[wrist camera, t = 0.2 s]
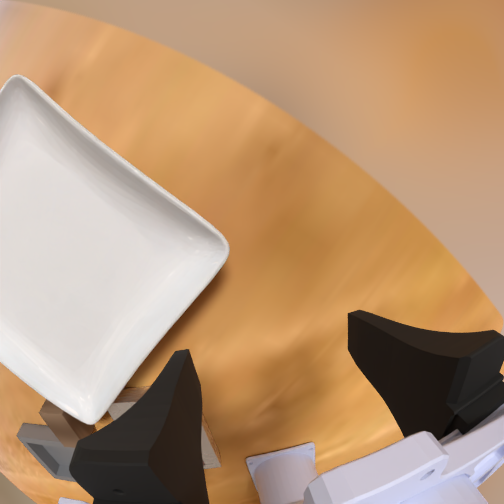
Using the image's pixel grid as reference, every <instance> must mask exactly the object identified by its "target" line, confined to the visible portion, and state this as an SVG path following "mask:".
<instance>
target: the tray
mask: <svg viewBox="0 0 504 504" xmlns="http://www.w3.org/2000/svg"><path fill="white" fill-rule="evenodd" d="M17 437H18V438H19V440H20V441H21V442H22V443H23V444H24V446H25V447H26V448H27V449H28V450H29V451H30V453H31V454H32V455H33V456H34V457H35V458H36V459H37V460H38V461H39V462H40V464H41V465H42V466H43V467H44V468H45V469H46V470H47V471H48V472H49V473H50V474H51V475H52V476H53V477H54V478H56V479H61V480H67V481H73V482H76V481H75V479H74V478H73V477H72V476H71V474H70V471H69V465H70V462H71V459H72V456H73V453H74V450H75V448H72V447H64V446H63V444H62V443H61V442H60V441H59V439H58V438H57V437H56V436H55V434H54V433H53V432H52V430H51V429H50V428H49V426H46V425H37V424H28V423H23V424H22V426H21V428H20V430H19V432H18V434H17Z"/></svg>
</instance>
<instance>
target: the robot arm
mask: <svg viewBox="0 0 504 504" xmlns="http://www.w3.org/2000/svg"><path fill="white" fill-rule="evenodd" d="M348 351H349V352H350V354H351V356H352V358H353V360H354V361H355V363H356V365H357V366H358V368H359V369H360V370H361V371H362V373H363V374H364V375H365V377H366V378H367V379H368V380H369V382H370V383H371V384H372V385H373V387H374V388H375V389H376V390H377V392H378V393H379V394H380V395H381V397H382V398H383V400H384V401H385V403H386V404H387V406H388V408H389V409H390V411H391V413H392V414H393V416H394V418H395V420H396V422H397V424H398V426H399V427H400V429H401V431H402V433H403V436H404V439H402V440H400V441H397V442H395V443H393V444H391V445H389V446H387V447H385V448H382V449H380V450H378V451H376V452H373V453H371V454H369V455H366V456H364V457H361V458H359V459H356V460H353V461H351V462H348V463H345V464H343V465H340V466H337V467H335V468H333V469H331V470H329V471H326V472H324V473H322V474H320V475H319V476H318V473H317V471H316V468H315V445H314V443H313V442H310V443H307V444H303V445H299V446H296V447H292V448H288V449H284V450H280V451H276V452H271V453H267V454H262V455H257V456H252V457H248V458H246V463H247V466H248V469H249V471H250V474H251V477H252V479H253V482H254V485H255V487H256V490H257V491H258V494H259V499H260V503H261V504H489V503H488V502H487V501H486V500H485V498H484V497H483V496H482V495H481V493H480V492H479V491H478V489H477V487H478V486H479V485H480V484H482V483H483V482H484V481H485V480H486V479H487V478H488V477H490V476H491V475H492V474H493V473H494V472H495V471H496V470H497V469H498V468H499V467H500V466H501V465H502V464H503V463H504V382H503V381H502V380H503V379H504V376H503V375H502V374H501V373H500V369H501V366H502V364H503V361H504V336H503V335H501V334H500V333H498V332H497V331H495V330H489V331H482V332H471V333H450V332H438V331H431V330H426V329H420V328H416V327H412V326H408V325H405V324H401V323H398V322H395V321H392V320H389V319H386V318H383V317H380V316H377V315H375V314H372V313H369V312H366V311H362V310H357V311H354V312H351V313H348ZM201 433H202V394H201V385H200V382H199V379H198V376H197V373H196V370H195V367H194V364H193V361H192V358H191V355H190V351H189V349H186V350H180V351H175V352H174V354H173V355H172V357H171V358H170V360H169V361H168V363H167V364H166V366H165V367H164V369H163V370H162V372H161V373H160V375H159V376H158V377H157V379H156V380H155V381H154V383H153V384H152V385H151V387H150V388H149V389H148V390H147V392H146V393H145V394H144V395H143V396H142V397H141V398H140V399H139V400H138V401H137V402H136V403H135V404H134V405H133V406H132V407H131V408H130V409H128V410H127V411H126V412H125V413H123V414H122V415H121V416H120V417H118V418H117V419H116V420H114V421H113V422H111V423H110V424H108V425H107V426H105V427H104V428H102V429H100V430H99V431H97V432H95V433H93V434H91V435H89V436H87V437H85V438H83V439H80V440H78V442H77V444H76V447H75V450H74V453H73V456H72V459H71V462H70V465H69V471H70V474H71V476H72V477H73V478H74V479H75V481H76V482H77V483H78V484H79V485H80V486H81V487H82V488H83V489H85V490H86V491H87V492H88V493H89V494H90V495H91V496H92V497H93V498H94V501H93V504H209V499H208V493H207V488H206V481H205V475H204V467H203V459H202V449H201ZM58 504H89V503H87V502H84V501H79V500H74V499H69V498H64V497H60V499H59V502H58Z"/></svg>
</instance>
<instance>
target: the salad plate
mask: <svg viewBox="0 0 504 504" xmlns="http://www.w3.org/2000/svg"><path fill="white" fill-rule="evenodd" d="M229 249H230V248H229V244H228V242H227V240H226V238H225V237H224V236H223V235H222V234H221V233H220V232H219V231H218V230H217V229H216V228H215V227H214V226H213V225H212V224H210V223H209V222H208V221H206V220H205V219H204V218H202V217H201V216H200V215H199V214H198V213H196V212H195V211H194V210H192V209H191V208H190V207H188V206H187V205H185V204H184V203H183V202H181V201H180V200H178V199H177V198H176V197H174V196H173V195H172V194H170V193H169V192H168V191H166V190H165V189H164V188H162V187H161V186H160V185H158V184H157V183H156V182H154V181H153V180H152V179H150V178H149V177H147V176H146V175H145V174H143V173H142V172H141V171H140V170H138V169H137V168H136V167H134V166H133V165H132V164H130V163H129V162H128V161H126V160H125V159H124V158H122V157H121V156H120V155H118V154H117V153H116V152H115V151H113V150H112V149H111V148H109V147H108V146H107V145H105V144H104V143H103V142H102V141H100V140H99V139H98V138H97V137H95V136H94V135H93V134H92V133H91V132H89V131H88V130H87V129H86V128H84V127H83V126H82V125H81V124H80V123H78V122H77V121H76V120H75V119H74V118H72V117H71V116H70V115H69V114H68V113H67V112H66V111H65V110H63V109H62V108H61V107H60V106H59V105H58V104H57V103H55V102H54V101H53V100H52V99H51V98H50V97H49V96H48V95H47V94H46V93H45V92H44V91H42V90H41V89H40V88H39V87H38V86H37V85H36V84H35V83H33V82H32V81H31V80H29V79H28V78H26V77H24V76H22V75H18V74H17V75H13V76H12V77H10V78H9V79H8V80H7V82H6V83H5V84H4V86H3V87H2V89H1V90H0V362H1V363H2V364H3V365H5V366H6V367H7V368H8V369H9V370H10V371H11V372H13V373H14V374H15V375H16V376H18V377H19V378H20V379H21V380H22V381H24V382H25V383H26V384H27V385H29V386H30V387H31V388H33V389H34V390H35V391H37V392H38V393H39V394H41V395H42V396H43V397H45V398H46V399H47V400H49V401H50V402H52V403H53V404H55V405H56V406H57V407H59V408H60V409H62V410H63V411H65V412H67V413H68V414H70V415H71V416H73V417H75V418H76V419H78V420H80V421H82V422H84V423H86V424H89V425H93V424H95V423H96V422H98V421H99V420H100V419H101V418H102V416H103V415H104V414H105V413H106V412H107V410H108V409H109V407H110V406H111V405H112V403H113V402H114V400H115V399H116V398H117V396H118V395H119V393H120V392H121V391H122V389H123V388H124V387H125V385H126V384H127V382H128V381H129V380H130V378H131V377H132V376H133V374H134V373H135V371H136V370H137V369H138V367H139V366H140V365H141V363H142V362H143V361H144V360H145V358H146V357H147V356H148V355H149V354H150V352H151V351H152V350H153V349H154V347H155V346H156V345H157V344H158V343H159V341H160V340H161V339H162V338H163V337H164V335H165V334H166V333H167V332H168V330H169V329H170V328H171V327H172V326H173V325H174V323H175V322H176V321H177V320H178V319H179V318H180V317H181V315H182V314H183V313H184V312H185V311H186V309H187V308H188V307H189V306H190V305H191V304H192V302H193V301H194V300H195V299H196V298H197V297H198V296H199V294H200V293H201V292H202V291H203V290H204V289H205V288H206V286H207V285H208V284H209V283H210V282H211V281H212V279H213V278H214V277H215V275H216V274H217V273H218V271H219V270H220V269H221V268H222V266H223V265H224V263H225V262H226V260H227V258H228V256H229Z"/></svg>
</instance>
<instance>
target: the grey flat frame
mask: <svg viewBox="0 0 504 504" xmlns="http://www.w3.org/2000/svg"><path fill="white" fill-rule="evenodd" d="M150 387H151V386H146V387H136V388H124V389H122V391H121V392H120V393H119V395H118V396H117V398H116V399H115V400H114V402H113V403H112V405H111V406H110V407H109V409H108V412H109V414H110V415H111V417H112V419H113V420H116V419H117V418H118V417H120V416H121V415H122V414H123V413H125V412H126V411H127V410H128V409H130V408H131V407H132V406H133V405H134V404H135V403H136V402H137V401H138V400H139V399H140V398H141V397H142V396H143V395H144V394H145V393H146V392H147V390H148V389H149V388H150ZM201 449H202V459H203V467H204V469H209V468H217V467H221V459H220V452H219V450H218V448H217V446H216V443H215V441H214V439H213V437H212V434H211V432H210V430H209V427H208V425H207V422H206V420H205V418H204V415H203V413H202V433H201Z"/></svg>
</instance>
